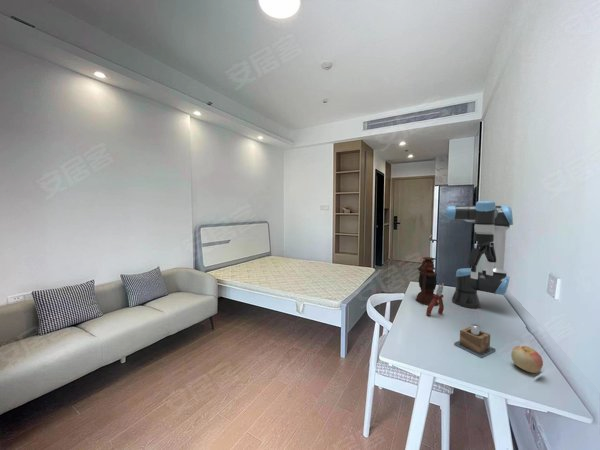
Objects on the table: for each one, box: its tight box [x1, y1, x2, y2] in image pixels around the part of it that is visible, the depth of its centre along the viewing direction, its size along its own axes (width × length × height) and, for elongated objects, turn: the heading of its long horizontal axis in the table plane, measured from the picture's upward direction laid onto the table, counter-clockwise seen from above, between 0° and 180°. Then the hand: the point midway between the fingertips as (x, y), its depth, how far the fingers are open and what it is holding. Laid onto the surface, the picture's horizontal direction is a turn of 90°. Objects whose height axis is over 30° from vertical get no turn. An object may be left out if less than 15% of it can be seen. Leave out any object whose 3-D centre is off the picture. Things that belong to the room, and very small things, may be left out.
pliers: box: [426, 282, 445, 317], centre depth 138 cm, size 12×20×3 cm
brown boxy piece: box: [459, 326, 491, 353], centre depth 106 cm, size 8×8×6 cm
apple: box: [510, 345, 544, 374], centre depth 92 cm, size 9×9×8 cm
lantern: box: [415, 256, 439, 307], centre depth 158 cm, size 17×14×30 cm
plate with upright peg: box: [453, 323, 496, 359], centre depth 106 cm, size 11×11×10 cm
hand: (481, 276), depth 117 cm, fingers open, 13 cm apart
